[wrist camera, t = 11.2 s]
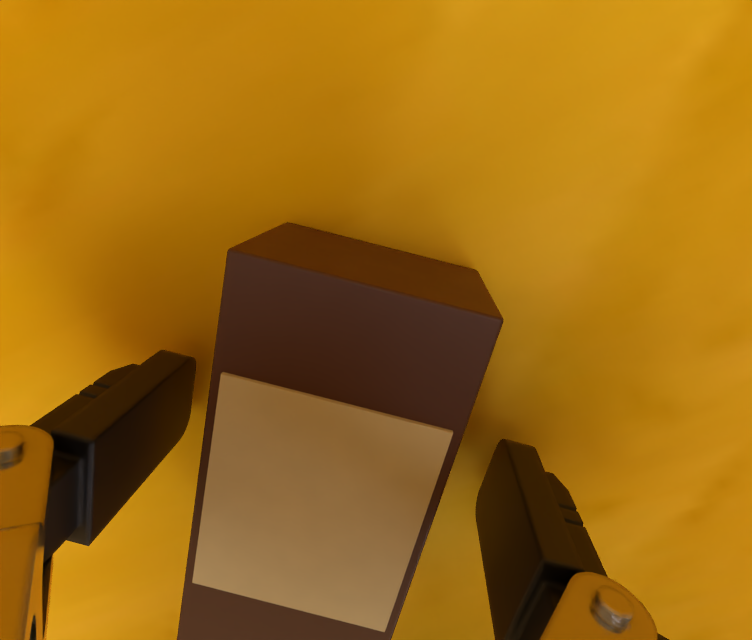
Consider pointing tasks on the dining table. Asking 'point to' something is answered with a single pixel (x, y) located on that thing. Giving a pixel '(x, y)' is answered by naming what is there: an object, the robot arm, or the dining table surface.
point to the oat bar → (328, 434)
